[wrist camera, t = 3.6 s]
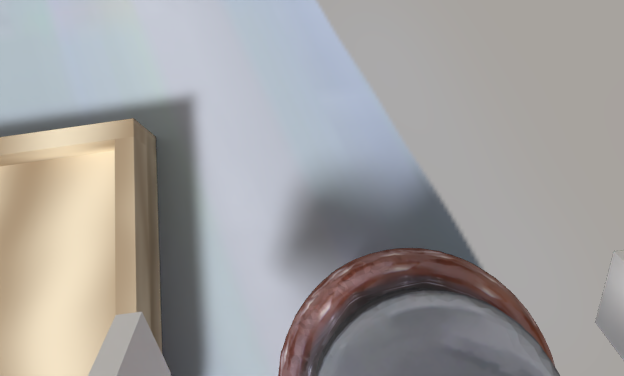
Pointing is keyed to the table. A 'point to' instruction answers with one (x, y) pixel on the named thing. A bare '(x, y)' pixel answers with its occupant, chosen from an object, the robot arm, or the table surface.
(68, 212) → the birch tray
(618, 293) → the robot arm
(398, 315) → the supplement bottle
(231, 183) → the table surface
